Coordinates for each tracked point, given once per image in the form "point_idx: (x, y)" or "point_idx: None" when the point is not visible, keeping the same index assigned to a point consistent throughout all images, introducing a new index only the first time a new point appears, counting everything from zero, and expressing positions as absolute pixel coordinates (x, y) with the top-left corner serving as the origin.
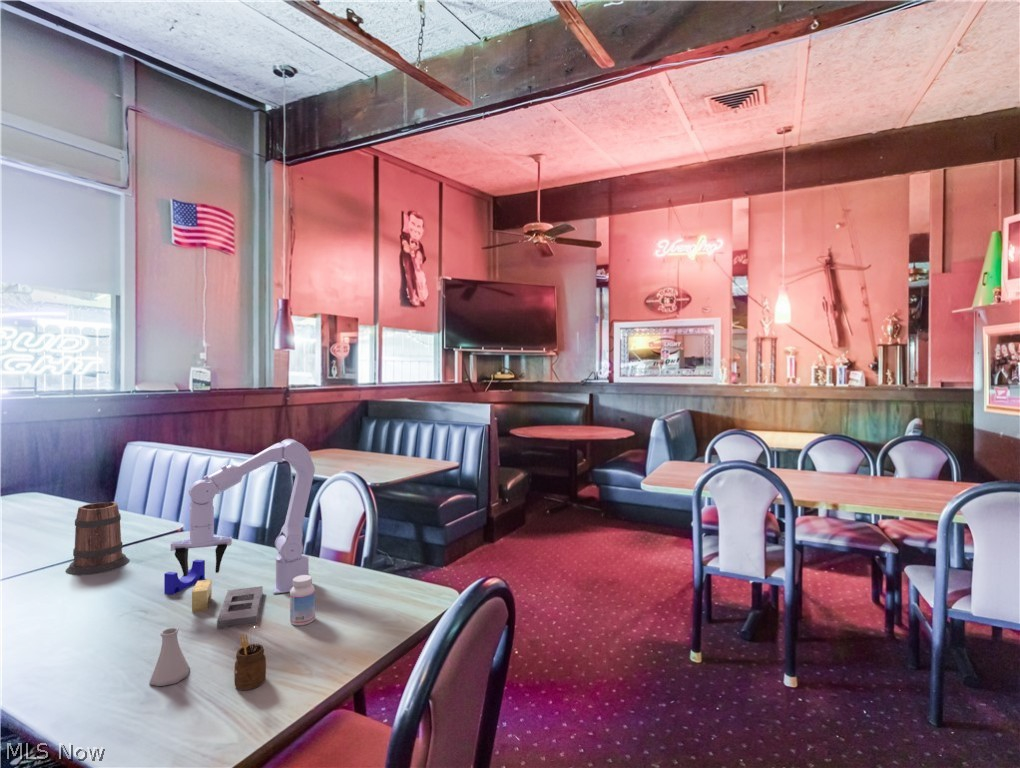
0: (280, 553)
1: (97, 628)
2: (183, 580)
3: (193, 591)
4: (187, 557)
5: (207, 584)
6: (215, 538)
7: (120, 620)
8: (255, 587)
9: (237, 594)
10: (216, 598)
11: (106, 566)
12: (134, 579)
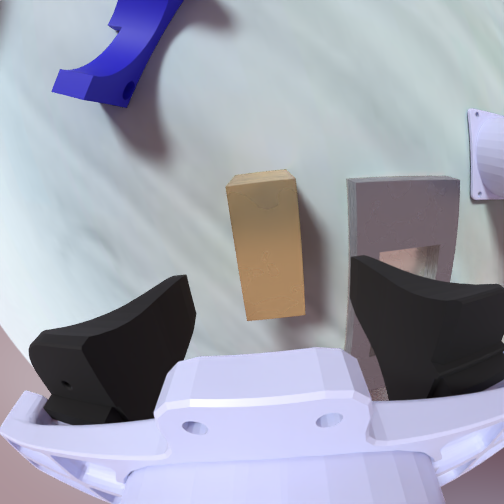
0: None
1: (64, 314)
2: (129, 22)
3: (253, 319)
4: (145, 328)
5: (293, 250)
6: (459, 421)
7: (79, 286)
8: (442, 184)
9: (394, 238)
10: (304, 174)
11: None
12: (17, 23)
